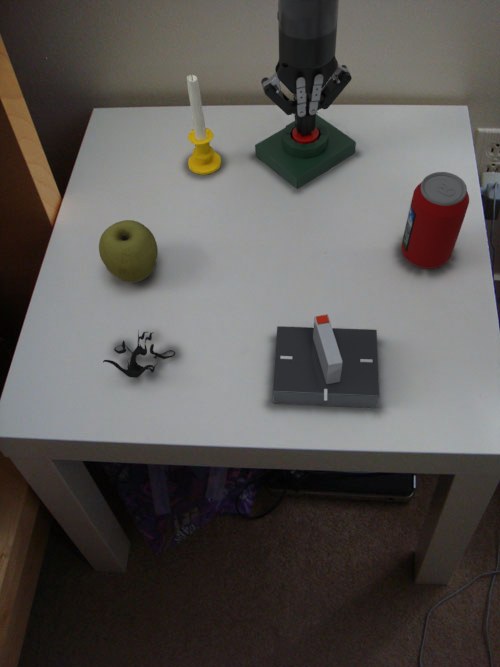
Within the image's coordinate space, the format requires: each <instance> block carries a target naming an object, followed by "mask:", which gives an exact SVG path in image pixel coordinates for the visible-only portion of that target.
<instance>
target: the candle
mask: <svg viewBox="0 0 500 667" xmlns="http://www.w3.org/2000/svg"><path fill="white" fill-rule="evenodd" d="M186 83H187V84H186V85H187V92H188V99H189V105H190V111H191V117H192V124H193V125H192V126H193V129H192V130H191V131H189V132H188V135H187V139H188V142H190V143H191V144H193V145H194V149H193V150H192V154H191V156H190V157H189V159H188V160H187V166H188V168H189V170H190V171H191V172H192V173H194V174H196V175H200V176H205V175H210V174H213V173H215V172H216V171H218V170H220V168H221V166H222V157H221V155H220V154H219V153H218V152H216V151H215V150H214V147H212V146H211V145H210V142H211V141H212V140H213V139H214V137H215V136H214V134H215V133H214V132H213V130H212V129H210V128H208V127H206V123H205V122H206V121H205V116H204V109H203V103H202V102H203V101H202V96H201V89H200V85H199V79H198V77H197V76H196V75H194V74H192V73H191V74H189V75H187V76H186Z"/></svg>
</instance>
